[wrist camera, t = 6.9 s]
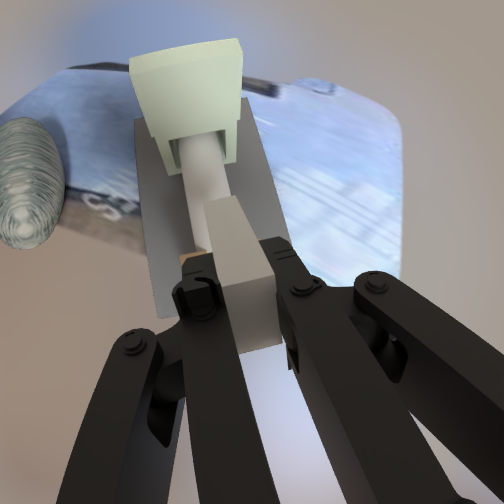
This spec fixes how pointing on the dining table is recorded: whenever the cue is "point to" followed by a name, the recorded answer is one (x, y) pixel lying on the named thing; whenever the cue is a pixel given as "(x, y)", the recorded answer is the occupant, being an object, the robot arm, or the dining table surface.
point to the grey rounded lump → (29, 184)
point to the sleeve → (190, 95)
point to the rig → (199, 198)
